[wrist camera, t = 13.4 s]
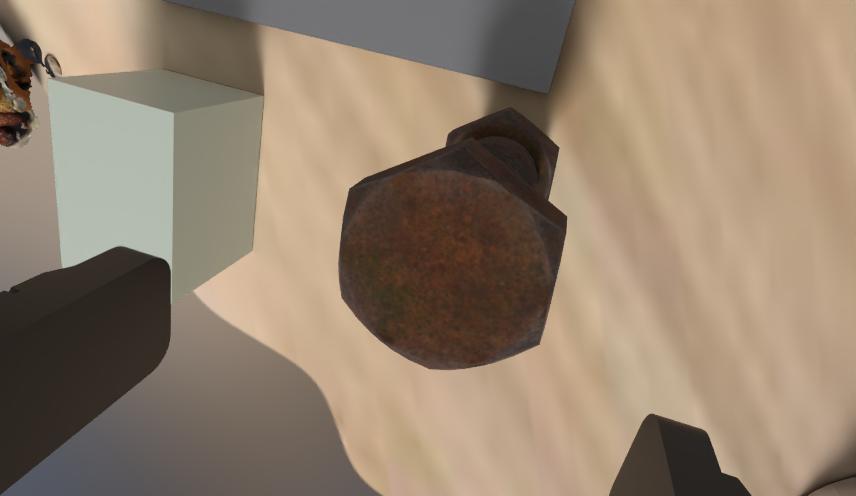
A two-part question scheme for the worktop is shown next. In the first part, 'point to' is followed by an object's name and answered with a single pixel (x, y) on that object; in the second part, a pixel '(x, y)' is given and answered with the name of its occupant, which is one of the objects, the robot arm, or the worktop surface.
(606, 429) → the worktop surface
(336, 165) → the worktop surface
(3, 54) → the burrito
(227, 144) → the pale green block
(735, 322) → the worktop surface
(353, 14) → the board
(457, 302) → the bolt
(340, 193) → the worktop surface
